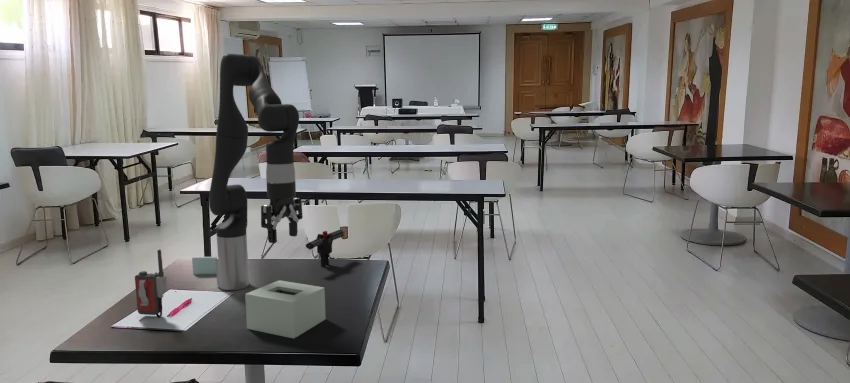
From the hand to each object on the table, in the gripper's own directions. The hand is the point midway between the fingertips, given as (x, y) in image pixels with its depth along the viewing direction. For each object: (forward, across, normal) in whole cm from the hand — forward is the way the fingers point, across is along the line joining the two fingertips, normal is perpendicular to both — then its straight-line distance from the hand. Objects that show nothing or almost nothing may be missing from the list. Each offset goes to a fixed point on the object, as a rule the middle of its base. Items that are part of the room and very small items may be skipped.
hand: (283, 239), depth 171 cm
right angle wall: (+25, -30, -56) cm, 68 cm away
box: (+24, 0, 0) cm, 24 cm away
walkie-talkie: (+25, +12, -39) cm, 48 cm away
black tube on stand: (+25, -48, -21) cm, 58 cm away
